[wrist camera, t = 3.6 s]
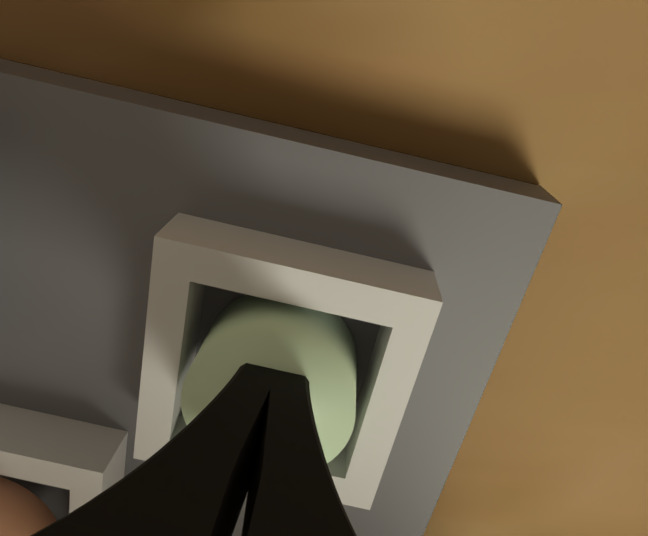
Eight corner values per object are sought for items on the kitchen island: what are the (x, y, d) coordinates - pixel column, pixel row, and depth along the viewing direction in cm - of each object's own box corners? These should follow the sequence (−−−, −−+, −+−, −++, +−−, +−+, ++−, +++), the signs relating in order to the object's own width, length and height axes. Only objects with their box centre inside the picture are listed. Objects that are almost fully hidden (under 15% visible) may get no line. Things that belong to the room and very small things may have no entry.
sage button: (337, 431, 14) (333, 493, 12) (198, 399, 13) (172, 457, 12) (373, 308, 12) (375, 357, 10) (217, 273, 12) (190, 316, 10)
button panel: (377, 597, 19) (379, 694, 16) (-154, 482, 18) (-247, 562, 15) (540, 185, 13) (589, 228, 10) (-253, -2, 12) (-433, -12, 9)
